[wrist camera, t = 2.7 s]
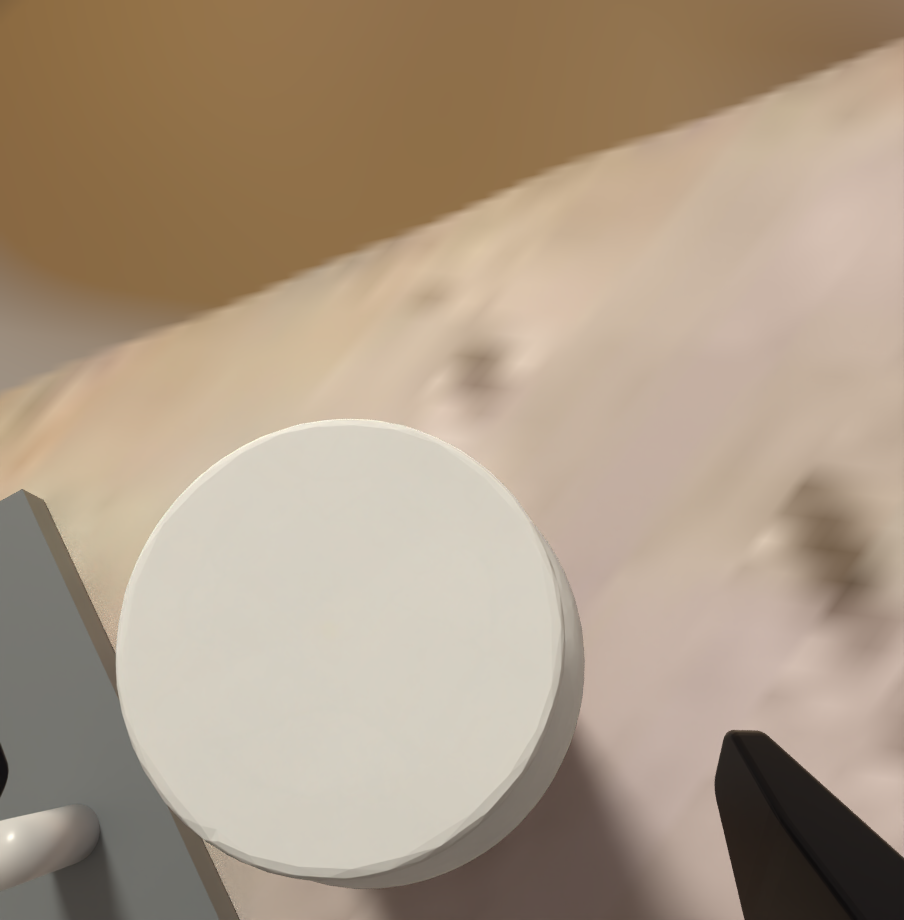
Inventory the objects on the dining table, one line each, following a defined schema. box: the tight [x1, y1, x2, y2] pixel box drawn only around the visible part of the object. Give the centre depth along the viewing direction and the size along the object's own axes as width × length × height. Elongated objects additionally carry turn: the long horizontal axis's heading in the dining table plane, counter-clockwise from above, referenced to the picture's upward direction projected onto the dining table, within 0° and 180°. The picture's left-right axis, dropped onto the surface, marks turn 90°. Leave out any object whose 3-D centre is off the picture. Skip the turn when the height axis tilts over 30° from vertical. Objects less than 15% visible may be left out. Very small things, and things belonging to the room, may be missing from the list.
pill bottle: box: [116, 419, 584, 889], centre depth 12 cm, size 6×6×11 cm
